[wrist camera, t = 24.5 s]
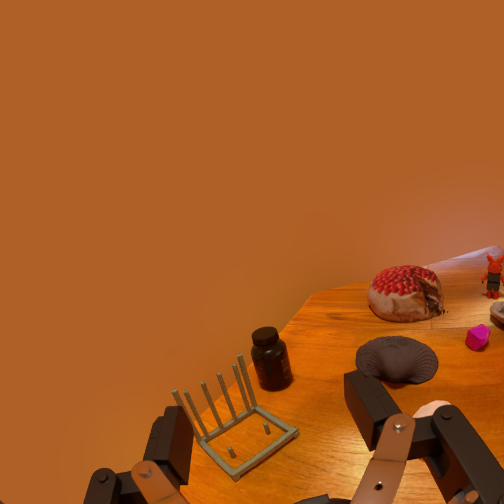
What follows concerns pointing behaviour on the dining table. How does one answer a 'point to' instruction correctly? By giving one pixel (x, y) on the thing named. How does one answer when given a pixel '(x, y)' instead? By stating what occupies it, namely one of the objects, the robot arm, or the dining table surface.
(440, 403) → the geometric ball
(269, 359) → the supplement bottle
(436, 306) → the cake
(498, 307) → the rock
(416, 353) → the seashell
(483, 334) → the crystal
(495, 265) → the toy animal
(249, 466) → the rack
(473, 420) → the dining table surface
